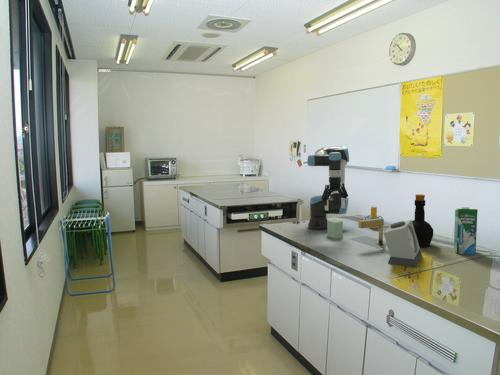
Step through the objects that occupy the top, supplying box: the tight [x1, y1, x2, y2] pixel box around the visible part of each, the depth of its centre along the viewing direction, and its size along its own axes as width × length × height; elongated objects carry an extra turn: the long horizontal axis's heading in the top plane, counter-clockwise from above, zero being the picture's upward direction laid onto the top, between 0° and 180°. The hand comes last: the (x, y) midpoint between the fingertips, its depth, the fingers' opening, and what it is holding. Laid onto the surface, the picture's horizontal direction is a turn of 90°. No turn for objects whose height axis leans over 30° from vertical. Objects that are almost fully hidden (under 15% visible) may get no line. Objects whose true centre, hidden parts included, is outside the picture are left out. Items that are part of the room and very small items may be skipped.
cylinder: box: [364, 206, 384, 230], centre depth 268 cm, size 12×10×15 cm
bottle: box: [412, 194, 434, 248], centre depth 222 cm, size 16×16×30 cm
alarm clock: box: [383, 219, 423, 268], centre depth 197 cm, size 20×16×20 cm
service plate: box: [349, 235, 387, 249], centre depth 232 cm, size 24×14×1 cm, turn 27°
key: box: [357, 217, 385, 244], centre depth 222 cm, size 16×2×15 cm, turn 110°
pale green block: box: [326, 219, 344, 240], centre depth 245 cm, size 8×6×11 cm
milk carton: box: [453, 206, 479, 256], centre depth 206 cm, size 9×9×25 cm
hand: (334, 209), depth 244 cm, fingers open, 13 cm apart
